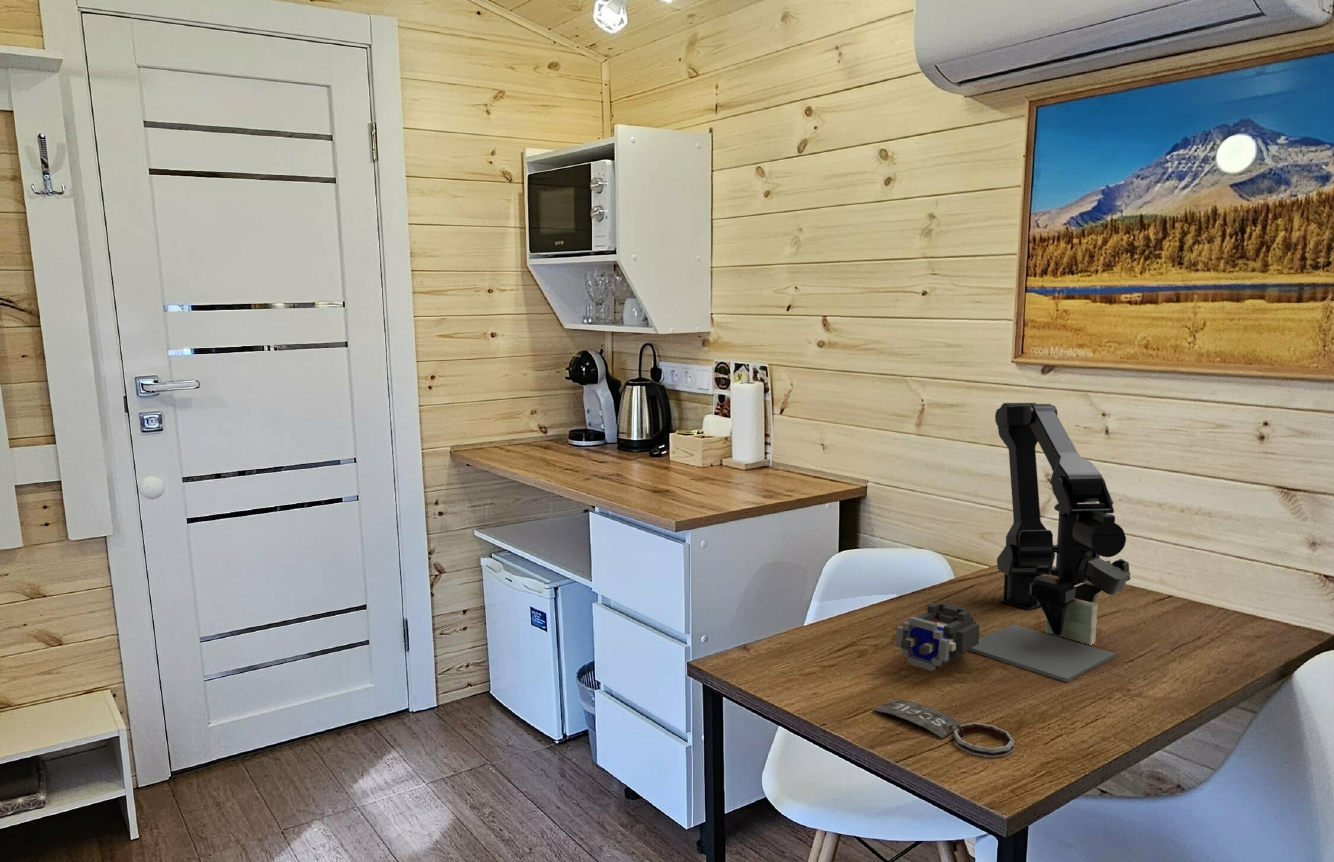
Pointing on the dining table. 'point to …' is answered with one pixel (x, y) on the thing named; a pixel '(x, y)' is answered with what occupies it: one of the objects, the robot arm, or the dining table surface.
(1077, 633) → the tile
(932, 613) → the toy
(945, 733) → the keychain
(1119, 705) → the dining table surface
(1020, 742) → the dining table surface
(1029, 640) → the mat
